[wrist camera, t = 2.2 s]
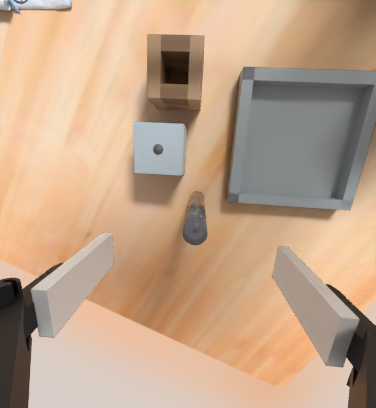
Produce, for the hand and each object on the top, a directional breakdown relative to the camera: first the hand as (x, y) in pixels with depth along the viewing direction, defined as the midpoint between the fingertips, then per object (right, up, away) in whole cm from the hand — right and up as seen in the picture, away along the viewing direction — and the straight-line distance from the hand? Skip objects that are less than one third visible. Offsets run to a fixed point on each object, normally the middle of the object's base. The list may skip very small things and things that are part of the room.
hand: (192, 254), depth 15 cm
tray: (+17, +14, +16) cm, 27 cm away
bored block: (-2, +23, +15) cm, 27 cm away
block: (-4, +13, +17) cm, 22 cm away
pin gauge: (+1, +5, +19) cm, 20 cm away
